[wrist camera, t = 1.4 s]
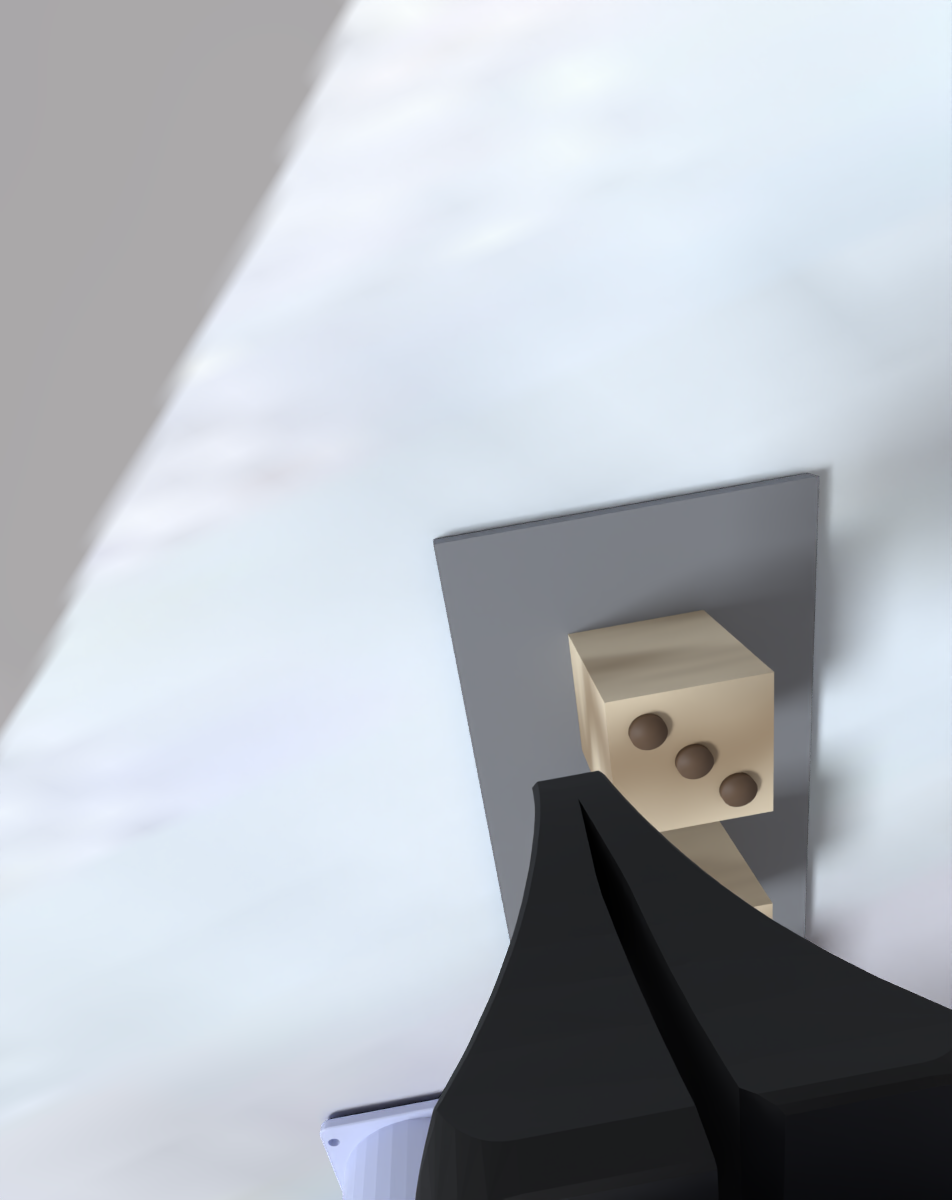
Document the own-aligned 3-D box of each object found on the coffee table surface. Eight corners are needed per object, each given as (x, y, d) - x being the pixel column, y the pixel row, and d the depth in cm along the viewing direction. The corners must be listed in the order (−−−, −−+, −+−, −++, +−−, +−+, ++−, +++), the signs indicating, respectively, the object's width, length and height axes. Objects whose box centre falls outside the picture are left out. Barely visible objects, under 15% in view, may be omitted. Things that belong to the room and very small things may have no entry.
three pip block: (707, 727, 22) (777, 816, 18) (581, 750, 22) (620, 844, 18) (703, 609, 21) (778, 675, 16) (568, 634, 21) (606, 706, 16)
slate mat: (793, 1062, 30) (800, 1075, 29) (543, 1109, 30) (545, 1124, 29) (807, 472, 20) (818, 476, 19) (433, 539, 20) (433, 544, 19)
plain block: (713, 898, 25) (771, 1005, 21) (602, 919, 25) (638, 1031, 21) (710, 807, 24) (772, 903, 19) (591, 828, 23) (627, 930, 19)
